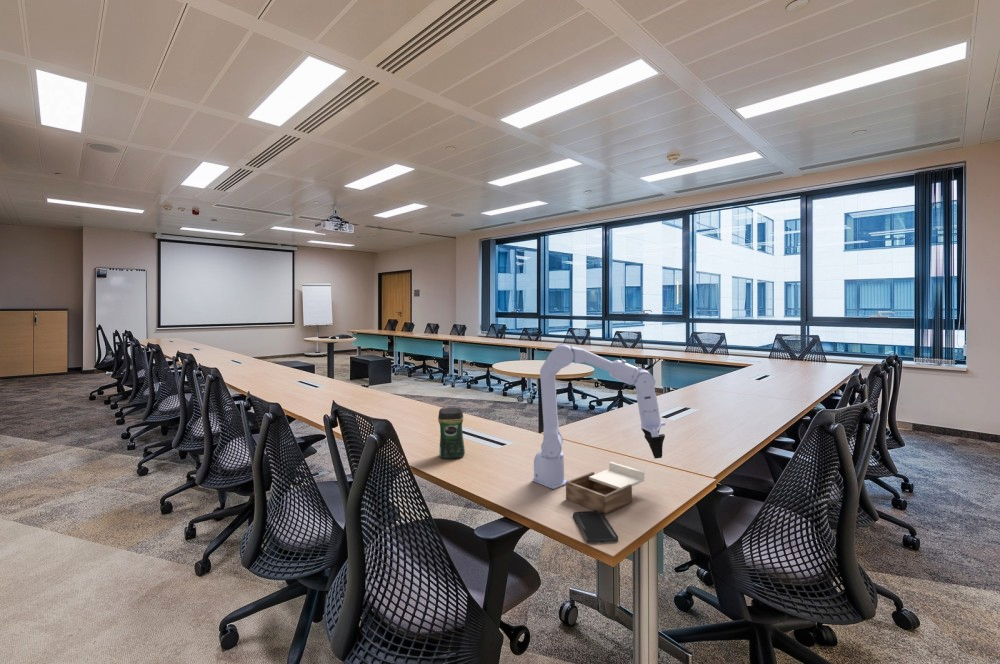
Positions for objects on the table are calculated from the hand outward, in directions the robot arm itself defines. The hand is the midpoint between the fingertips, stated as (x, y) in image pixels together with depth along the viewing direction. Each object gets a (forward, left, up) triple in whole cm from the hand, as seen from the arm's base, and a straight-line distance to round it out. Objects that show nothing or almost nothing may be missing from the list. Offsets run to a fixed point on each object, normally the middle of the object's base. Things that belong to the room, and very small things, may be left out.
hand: (656, 453), depth 135 cm
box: (-6, -20, -11) cm, 24 cm away
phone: (+3, -34, -11) cm, 36 cm away
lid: (-6, -12, -7) cm, 15 cm away
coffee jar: (-68, -29, -11) cm, 75 cm away
